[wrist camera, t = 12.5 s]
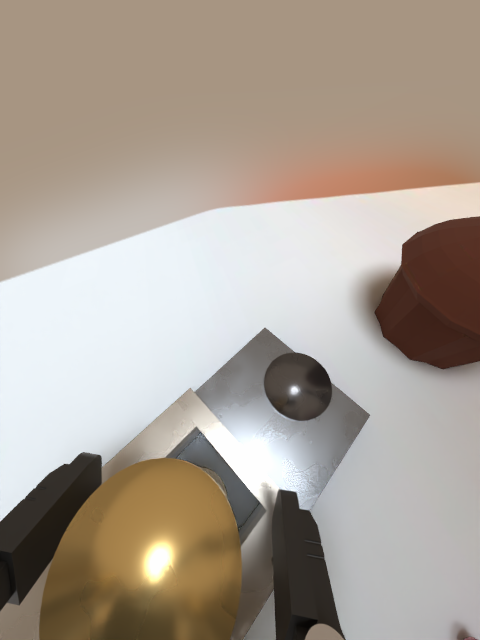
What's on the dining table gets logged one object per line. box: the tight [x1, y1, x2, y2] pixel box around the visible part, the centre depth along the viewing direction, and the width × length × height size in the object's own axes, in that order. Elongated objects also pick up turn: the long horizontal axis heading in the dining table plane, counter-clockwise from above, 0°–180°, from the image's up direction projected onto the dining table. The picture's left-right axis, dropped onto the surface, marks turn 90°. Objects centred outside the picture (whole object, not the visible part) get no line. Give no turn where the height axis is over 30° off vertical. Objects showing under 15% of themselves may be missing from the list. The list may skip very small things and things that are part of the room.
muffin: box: [375, 217, 480, 369], centre depth 18 cm, size 12×11×10 cm
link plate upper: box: [0, 388, 279, 640], centre depth 12 cm, size 17×10×3 cm, turn 135°
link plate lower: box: [171, 328, 370, 538], centre depth 15 cm, size 17×10×2 cm, turn 135°
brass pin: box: [39, 458, 242, 640], centre depth 10 cm, size 5×5×10 cm
